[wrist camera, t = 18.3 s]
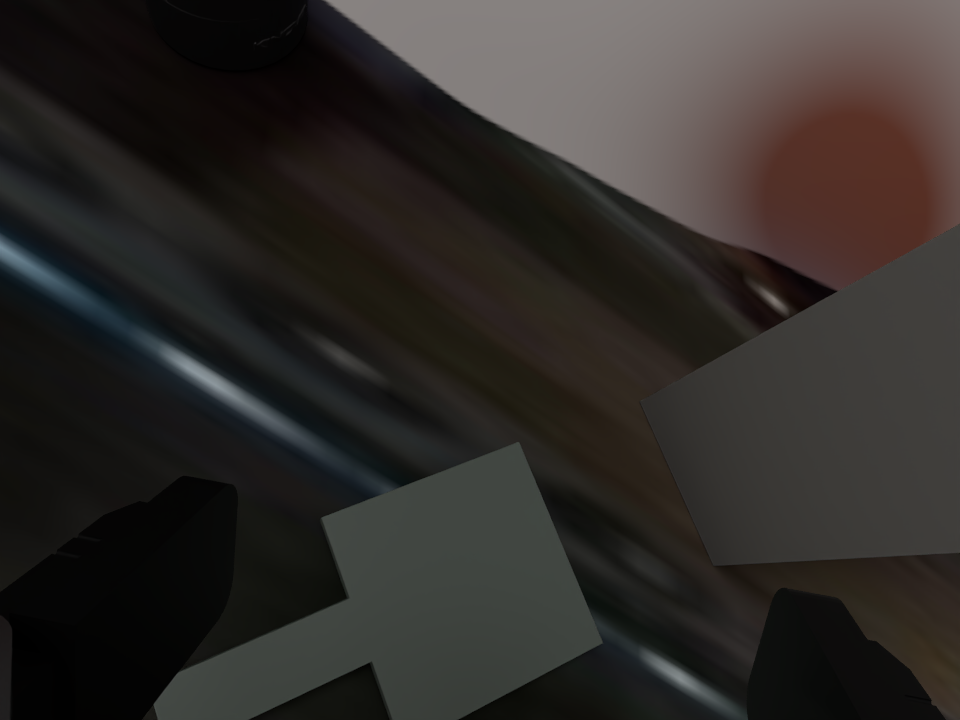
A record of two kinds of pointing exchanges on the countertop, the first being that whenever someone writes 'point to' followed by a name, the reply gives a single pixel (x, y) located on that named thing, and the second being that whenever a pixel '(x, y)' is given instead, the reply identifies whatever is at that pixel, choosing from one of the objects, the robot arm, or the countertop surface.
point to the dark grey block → (829, 424)
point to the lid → (418, 605)
